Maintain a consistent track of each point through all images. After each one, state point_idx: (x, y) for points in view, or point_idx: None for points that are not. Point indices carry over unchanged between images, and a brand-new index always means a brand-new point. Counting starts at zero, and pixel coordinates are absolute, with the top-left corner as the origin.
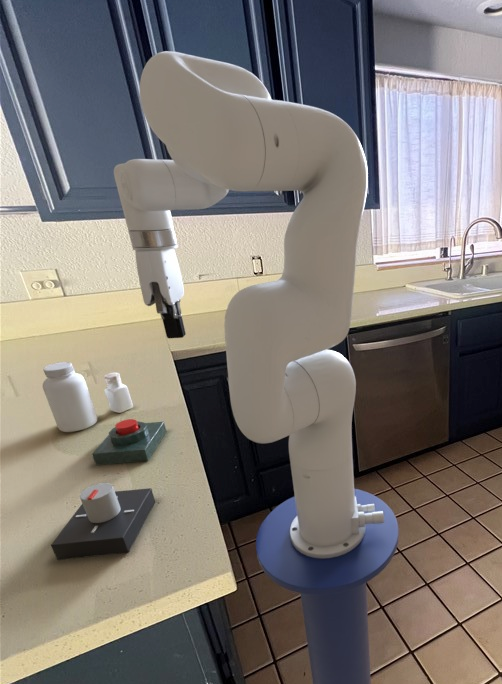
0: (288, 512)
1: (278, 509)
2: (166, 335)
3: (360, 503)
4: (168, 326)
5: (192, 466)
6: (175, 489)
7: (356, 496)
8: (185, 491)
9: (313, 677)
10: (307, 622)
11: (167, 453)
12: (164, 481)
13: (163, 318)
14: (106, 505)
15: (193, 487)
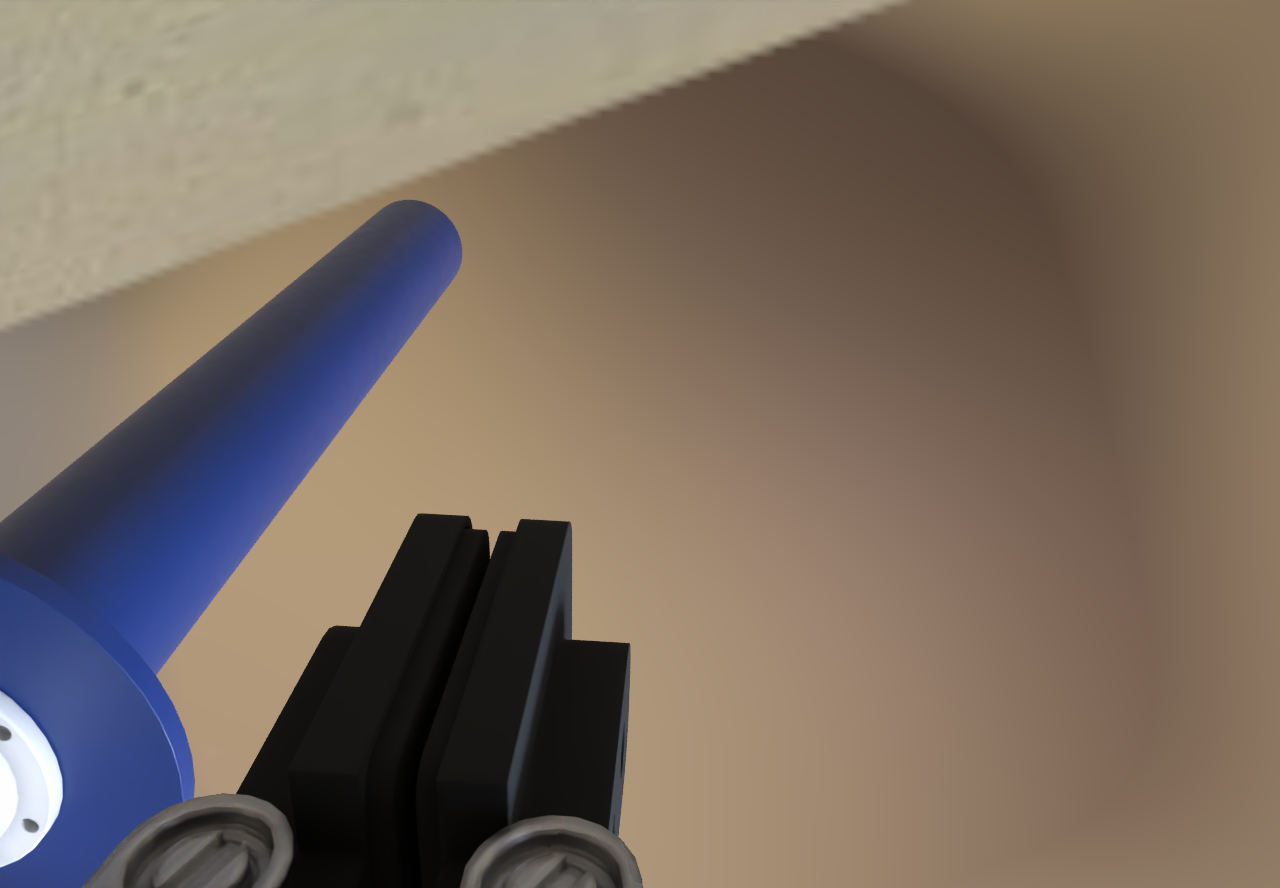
0: (12, 641)
1: (25, 608)
2: (408, 531)
3: (82, 861)
4: (274, 745)
5: (244, 221)
6: (15, 175)
7: None
8: (2, 236)
9: (192, 367)
10: (54, 478)
11: (411, 8)
12: (87, 86)
13: (160, 849)
14: None
15: (40, 271)
